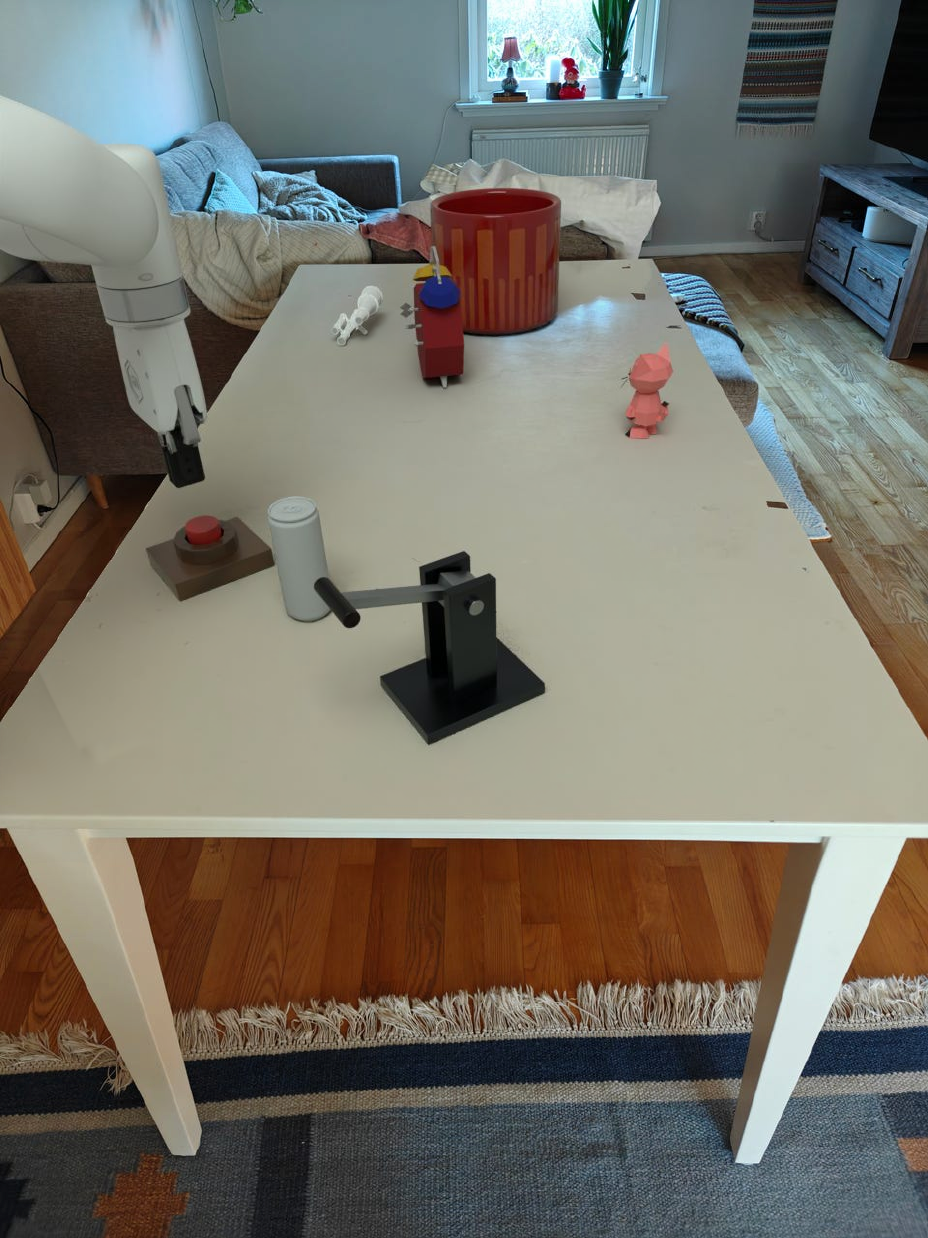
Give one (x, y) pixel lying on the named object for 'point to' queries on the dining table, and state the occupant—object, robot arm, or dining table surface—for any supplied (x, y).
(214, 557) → the button block
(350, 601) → the lever
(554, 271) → the planter
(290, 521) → the beverage can
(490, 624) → the bracket
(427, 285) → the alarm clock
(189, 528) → the button
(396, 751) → the dining table surface
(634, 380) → the cat figurine
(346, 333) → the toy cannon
